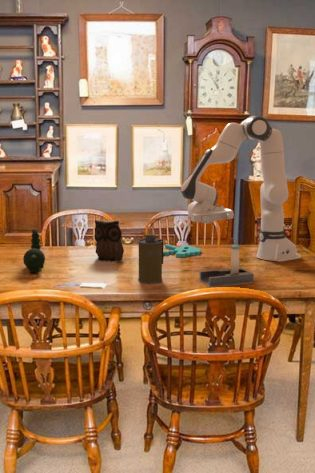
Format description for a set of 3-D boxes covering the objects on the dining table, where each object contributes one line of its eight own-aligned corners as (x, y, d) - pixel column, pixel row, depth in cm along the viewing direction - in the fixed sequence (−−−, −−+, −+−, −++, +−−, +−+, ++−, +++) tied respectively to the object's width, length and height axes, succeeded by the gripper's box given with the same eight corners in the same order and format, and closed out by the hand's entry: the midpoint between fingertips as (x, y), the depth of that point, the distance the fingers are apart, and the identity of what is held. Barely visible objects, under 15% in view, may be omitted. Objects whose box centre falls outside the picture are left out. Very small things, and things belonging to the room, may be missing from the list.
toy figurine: (26, 267, 245) (22, 277, 221) (25, 227, 243) (20, 233, 219) (46, 266, 247) (44, 276, 222) (45, 227, 245) (43, 233, 220)
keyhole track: (240, 275, 226) (240, 266, 226) (253, 283, 215) (254, 274, 214) (198, 279, 220) (199, 270, 219) (210, 287, 209) (210, 278, 208)
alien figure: (158, 256, 260) (197, 259, 257) (158, 252, 260) (197, 254, 256) (166, 248, 280) (202, 249, 276) (166, 244, 279) (202, 245, 275)
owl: (124, 261, 250) (124, 221, 246) (100, 263, 245) (99, 222, 241) (116, 255, 262) (116, 216, 257) (92, 257, 257) (92, 218, 253)
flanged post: (237, 277, 222) (238, 244, 219) (243, 280, 217) (244, 246, 214) (225, 278, 221) (226, 245, 218) (231, 281, 216) (232, 247, 213)
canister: (143, 284, 212) (143, 238, 208) (134, 278, 222) (134, 233, 218) (167, 281, 217) (167, 235, 212) (157, 275, 226) (157, 231, 222)
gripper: (186, 209, 239) (198, 213, 226) (225, 205, 245) (239, 209, 232) (186, 222, 240) (198, 227, 227) (225, 218, 246) (239, 222, 234)
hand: (219, 218), depth 230 cm, fingers open, 8 cm apart
